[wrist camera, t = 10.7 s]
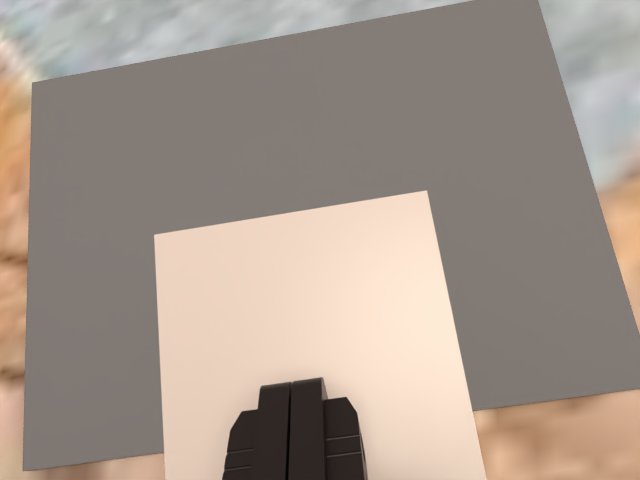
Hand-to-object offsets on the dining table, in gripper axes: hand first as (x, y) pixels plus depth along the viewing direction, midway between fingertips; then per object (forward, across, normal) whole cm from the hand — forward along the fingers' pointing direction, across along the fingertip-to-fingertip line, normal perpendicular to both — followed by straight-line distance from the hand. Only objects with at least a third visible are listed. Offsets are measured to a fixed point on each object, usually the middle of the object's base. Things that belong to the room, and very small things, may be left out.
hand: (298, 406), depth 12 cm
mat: (+9, 0, -1) cm, 9 cm away
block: (0, 0, +6) cm, 6 cm away
